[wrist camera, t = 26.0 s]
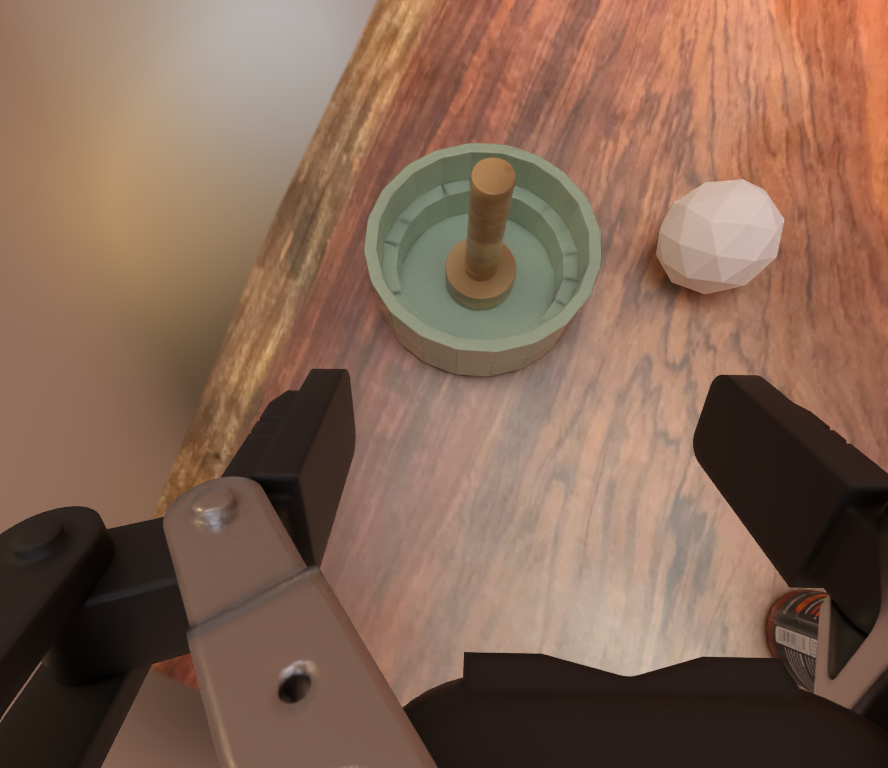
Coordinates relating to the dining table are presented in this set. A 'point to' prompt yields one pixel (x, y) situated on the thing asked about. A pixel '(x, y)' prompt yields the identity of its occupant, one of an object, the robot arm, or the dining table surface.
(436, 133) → the dining table surface
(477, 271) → the wooden peg on base
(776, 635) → the supplement bottle
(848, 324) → the dining table surface
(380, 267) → the bowl
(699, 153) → the dining table surface
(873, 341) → the dining table surface
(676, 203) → the geometric ball
